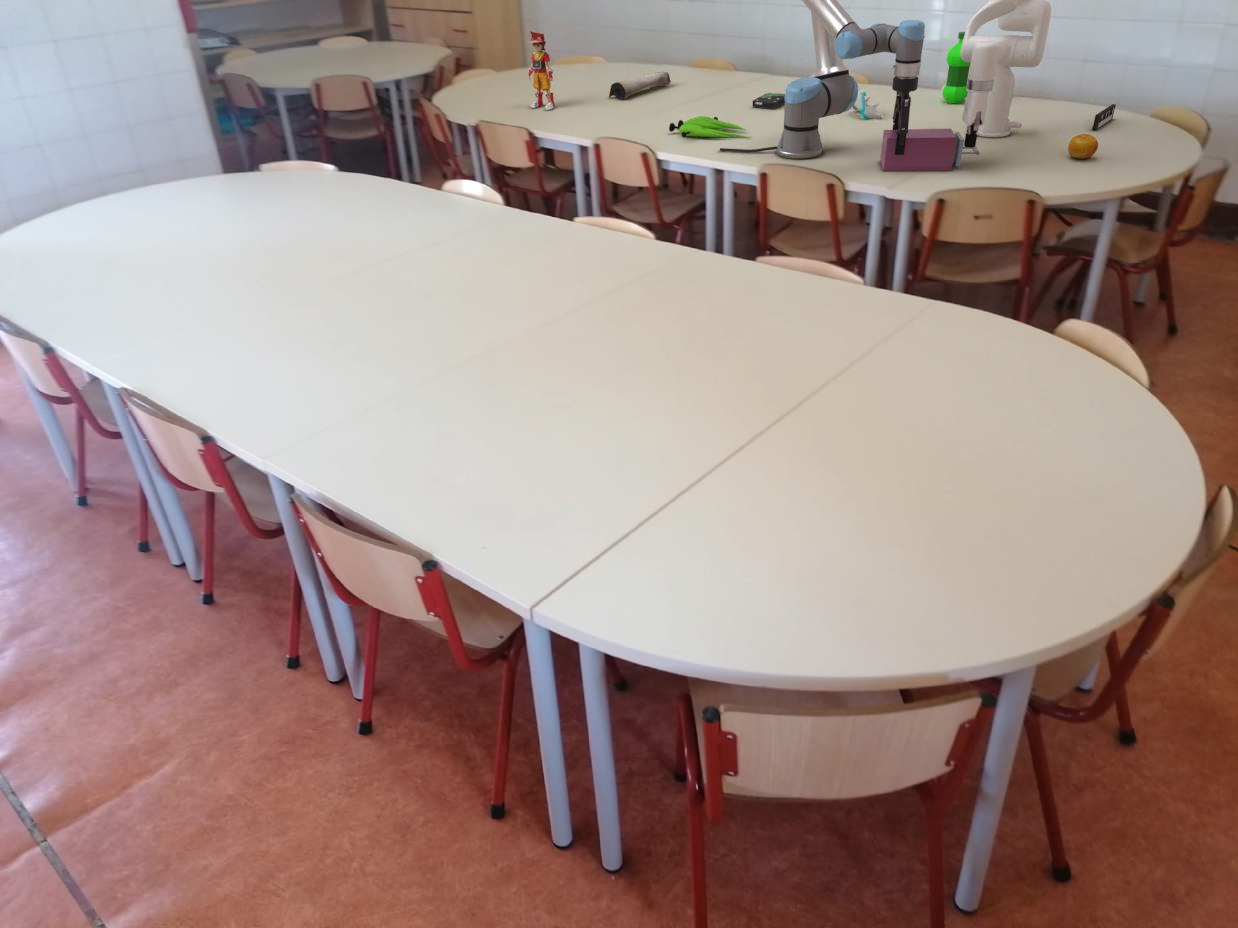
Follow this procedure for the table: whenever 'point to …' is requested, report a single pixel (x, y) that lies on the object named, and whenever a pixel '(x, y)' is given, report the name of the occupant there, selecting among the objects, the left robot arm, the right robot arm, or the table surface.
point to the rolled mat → (638, 84)
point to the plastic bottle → (956, 74)
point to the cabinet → (919, 150)
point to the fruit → (1082, 146)
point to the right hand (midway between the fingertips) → (969, 146)
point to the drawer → (959, 149)
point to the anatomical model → (865, 106)
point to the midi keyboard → (1103, 116)
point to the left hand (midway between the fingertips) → (897, 149)
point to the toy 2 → (705, 127)
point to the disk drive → (769, 100)
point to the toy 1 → (541, 71)
